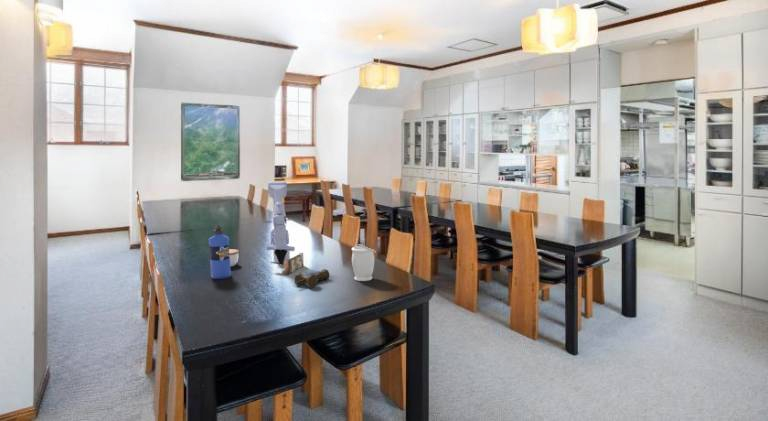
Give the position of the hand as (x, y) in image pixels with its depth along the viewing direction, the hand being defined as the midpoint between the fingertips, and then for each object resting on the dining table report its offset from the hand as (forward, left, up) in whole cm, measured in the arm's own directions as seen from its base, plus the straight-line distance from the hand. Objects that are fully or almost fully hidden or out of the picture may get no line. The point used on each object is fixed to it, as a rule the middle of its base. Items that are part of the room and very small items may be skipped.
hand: (281, 264), depth 230 cm
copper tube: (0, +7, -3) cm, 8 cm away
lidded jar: (-2, -32, -3) cm, 32 cm away
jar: (+7, +46, -3) cm, 47 cm away
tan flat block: (-1, +7, -3) cm, 8 cm away
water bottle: (+18, -23, -3) cm, 29 cm away
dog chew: (+20, +25, -3) cm, 32 cm away
